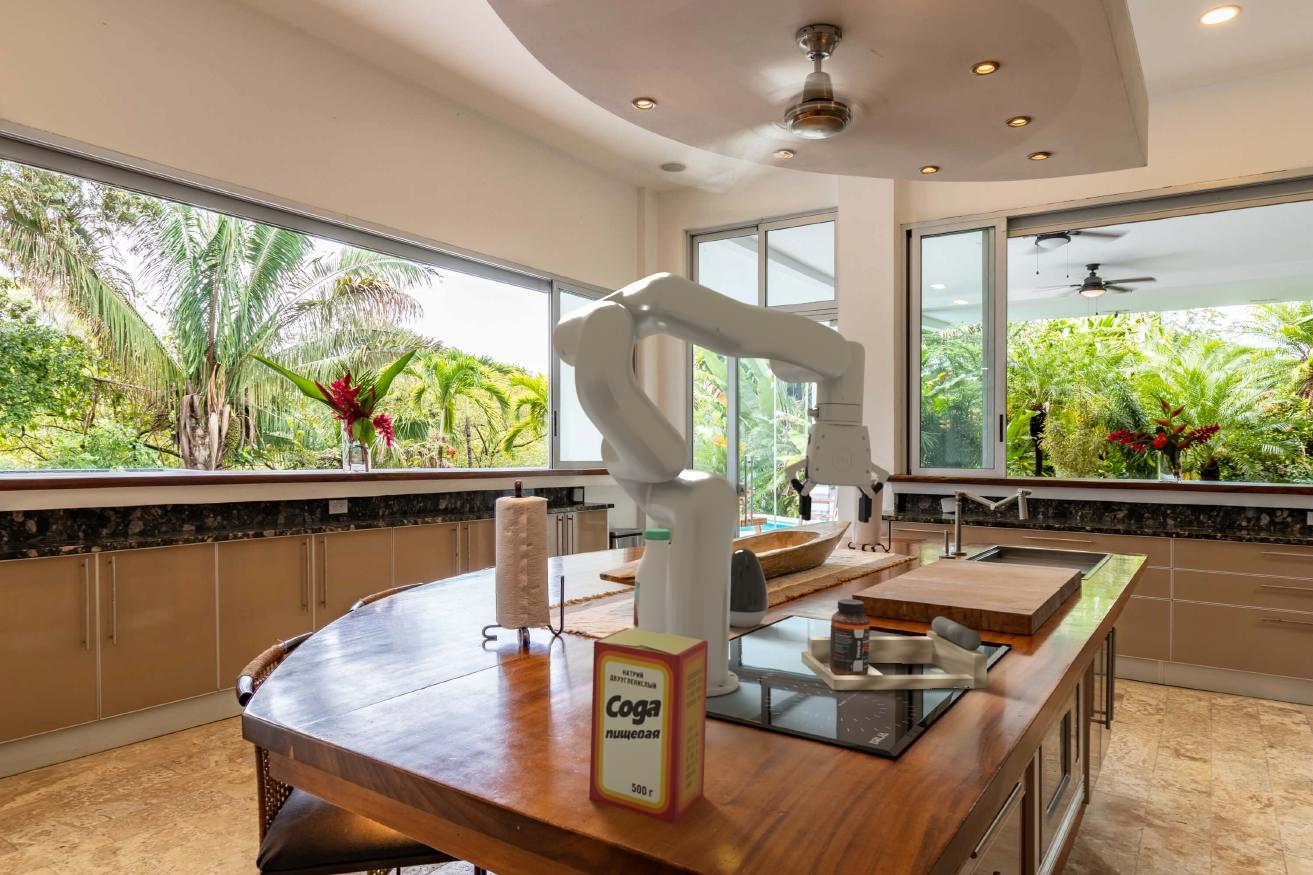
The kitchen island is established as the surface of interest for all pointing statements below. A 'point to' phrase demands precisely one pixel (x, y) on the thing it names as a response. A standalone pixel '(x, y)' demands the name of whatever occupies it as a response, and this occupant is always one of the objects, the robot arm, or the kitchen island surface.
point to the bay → (910, 660)
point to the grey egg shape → (747, 590)
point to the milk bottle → (652, 583)
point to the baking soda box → (648, 722)
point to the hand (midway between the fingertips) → (834, 521)
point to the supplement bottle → (849, 639)
